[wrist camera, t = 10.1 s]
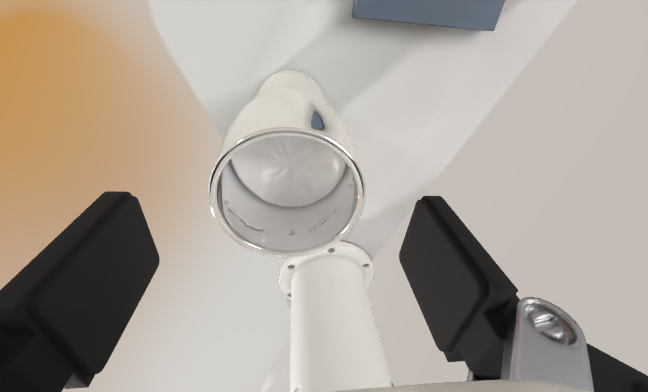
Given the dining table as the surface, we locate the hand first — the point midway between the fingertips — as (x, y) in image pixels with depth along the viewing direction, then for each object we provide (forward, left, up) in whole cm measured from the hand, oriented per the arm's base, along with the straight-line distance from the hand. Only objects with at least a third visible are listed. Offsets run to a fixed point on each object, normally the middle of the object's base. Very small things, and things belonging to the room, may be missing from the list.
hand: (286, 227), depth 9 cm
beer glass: (0, 0, -17) cm, 17 cm away
